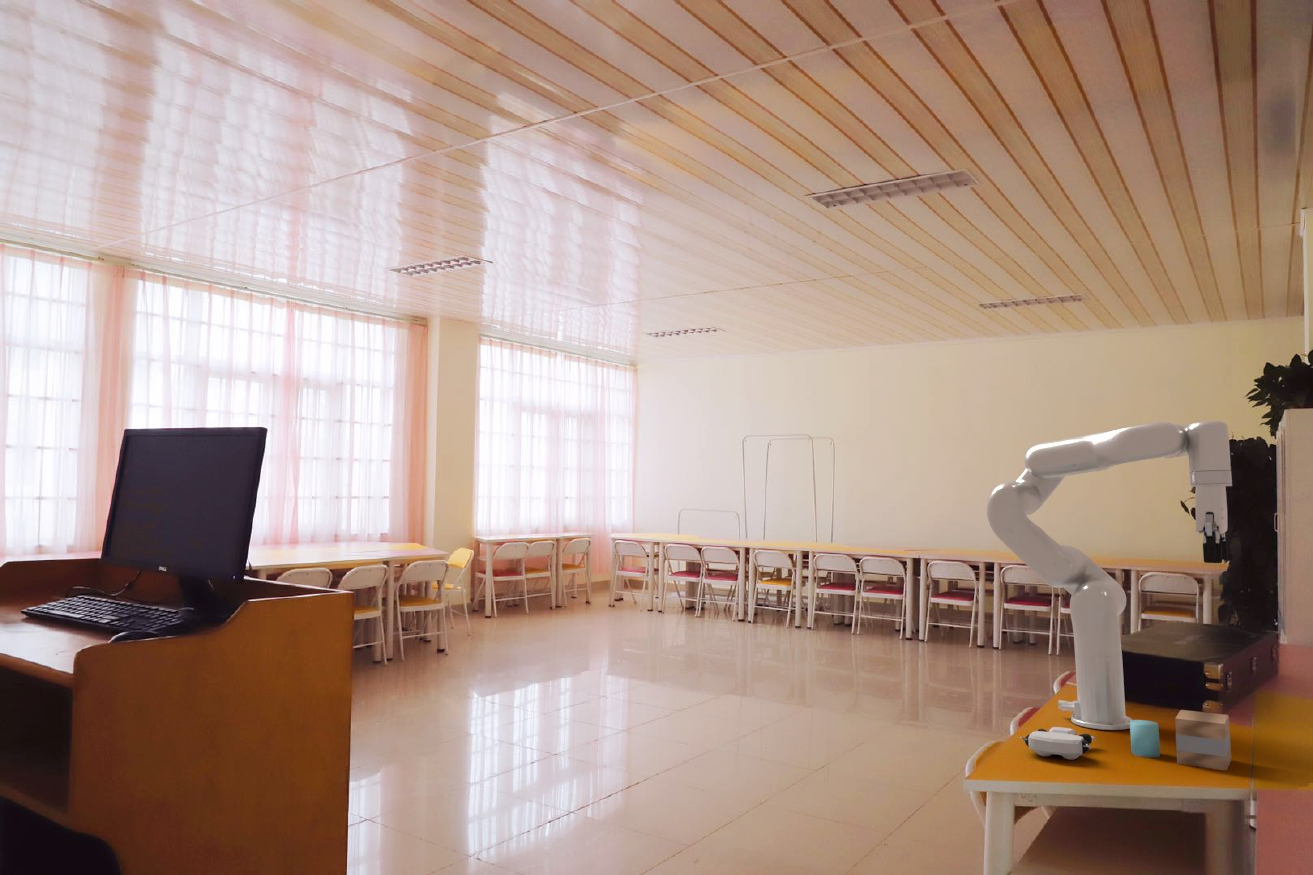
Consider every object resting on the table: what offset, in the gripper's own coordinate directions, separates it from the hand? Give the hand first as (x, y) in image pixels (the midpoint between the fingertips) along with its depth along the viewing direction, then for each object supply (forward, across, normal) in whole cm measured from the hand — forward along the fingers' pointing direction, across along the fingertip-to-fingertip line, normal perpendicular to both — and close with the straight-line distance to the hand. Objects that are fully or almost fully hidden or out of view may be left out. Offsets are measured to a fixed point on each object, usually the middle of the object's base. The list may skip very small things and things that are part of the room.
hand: (1216, 561), depth 188 cm
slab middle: (+34, +20, -2) cm, 40 cm away
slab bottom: (+37, +20, -2) cm, 42 cm away
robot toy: (+37, +28, -26) cm, 53 cm away
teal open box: (+37, +20, -12) cm, 44 cm away
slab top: (+31, +20, -2) cm, 37 cm away
